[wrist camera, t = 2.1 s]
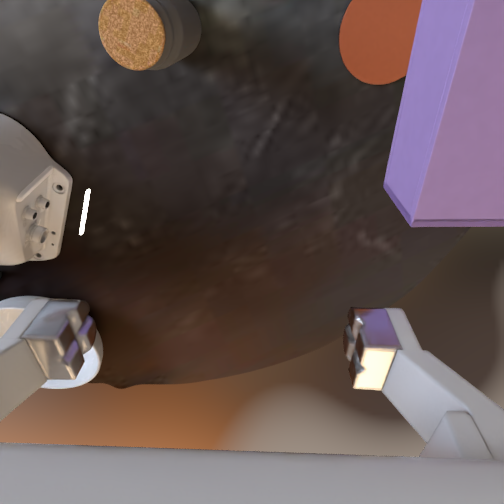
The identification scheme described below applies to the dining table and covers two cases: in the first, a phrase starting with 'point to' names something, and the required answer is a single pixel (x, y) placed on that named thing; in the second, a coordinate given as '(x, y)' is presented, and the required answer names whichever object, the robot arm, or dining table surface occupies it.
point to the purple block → (452, 119)
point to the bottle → (149, 32)
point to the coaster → (378, 38)
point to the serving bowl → (8, 311)
